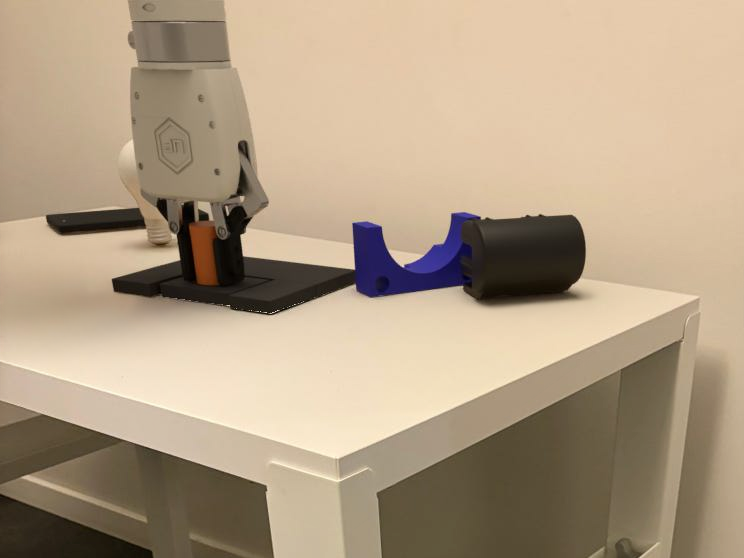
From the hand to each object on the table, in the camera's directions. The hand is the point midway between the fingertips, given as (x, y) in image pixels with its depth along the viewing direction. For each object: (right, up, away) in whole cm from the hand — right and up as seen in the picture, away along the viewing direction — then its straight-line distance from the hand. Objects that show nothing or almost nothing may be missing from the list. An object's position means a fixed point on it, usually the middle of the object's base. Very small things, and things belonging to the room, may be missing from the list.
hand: (214, 278), depth 90 cm
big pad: (+1, 0, +3) cm, 4 cm away
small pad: (0, -1, +1) cm, 2 cm away
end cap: (+28, -1, +2) cm, 28 cm away
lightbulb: (-11, +11, +20) cm, 25 cm away
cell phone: (-19, +18, +32) cm, 41 cm away
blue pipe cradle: (+18, +1, +5) cm, 19 cm away
